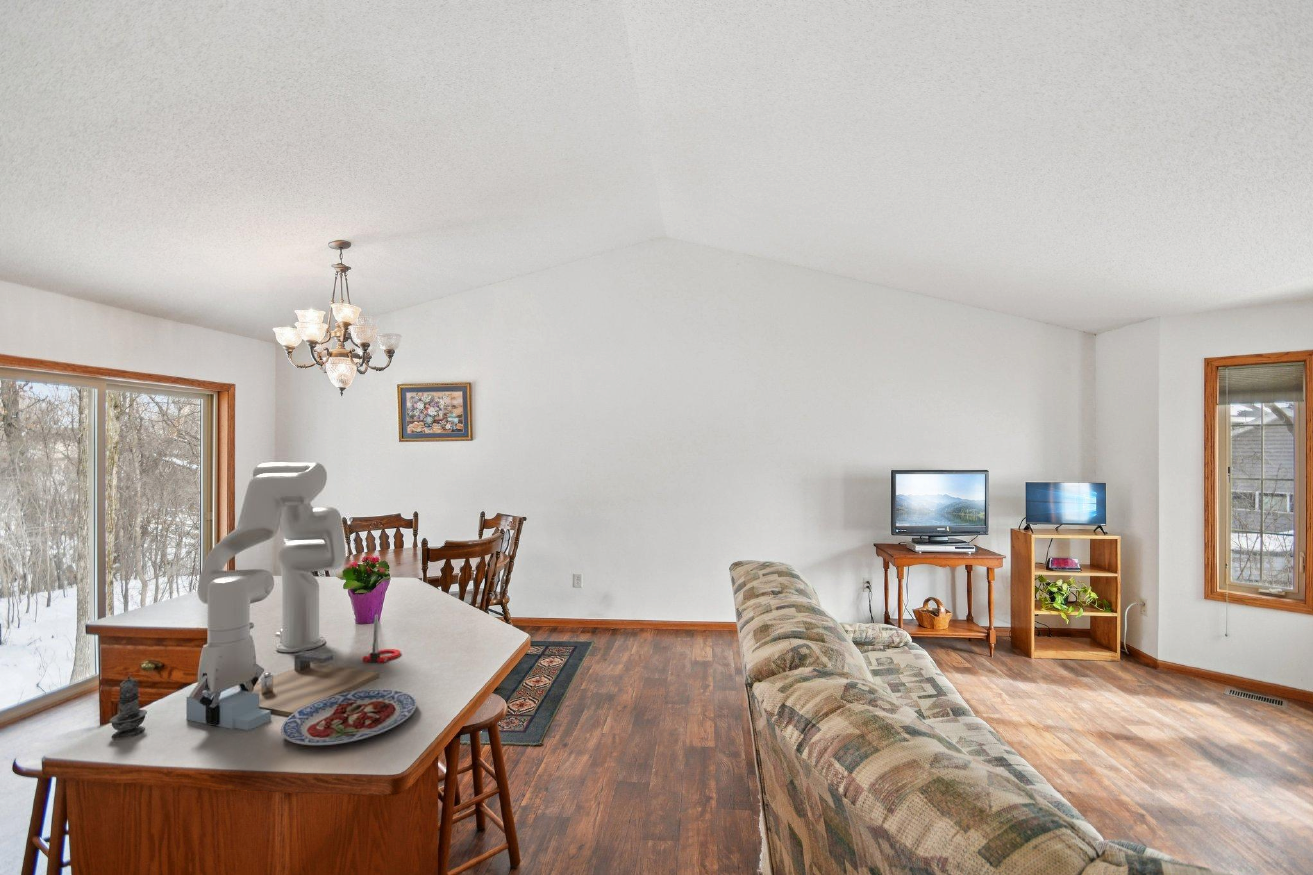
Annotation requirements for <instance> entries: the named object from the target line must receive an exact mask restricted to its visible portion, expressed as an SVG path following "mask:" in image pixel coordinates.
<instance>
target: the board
mask: <svg viewBox="0 0 1313 875" xmlns="http://www.w3.org/2000/svg"><path fill="white" fill-rule="evenodd" d="M379 676H380V674H379V672H375V671H370V670H369V671H367V670H361V669H353V668H348V667H340V666H334V665H327V664H322V663H315V662H310V668H308V669H305V670H303V671H294V668H291V669H288V670H286V671H284V672H282V673H280V674H277V675H273V693H271V694H268V695H261V681H260V682H259V681H258V682H257V683H256V685H255V686H254V690H253V693H259V709H264V710H269V711H271V714H275V715H278V716H285V717H289V716H291V715H292V714H293V713H295V712H296V711H298V710H300V709H301V708H303V707H305V706H307V705H309V704H312V703H314V702H317V701H319V700H322V699H325V698H328V697H332V696H335V695H339V694H344V693H349V692H352V691H353V690H355V689H357V688H359V687H361V686H363V685H365V684H367V683H369V682H371V681H374V680H375V679H377V678H379Z"/></svg>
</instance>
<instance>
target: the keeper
mask: <svg viewBox="0 0 1313 875" xmlns="http://www.w3.org/2000/svg"><path fill="white" fill-rule="evenodd" d="M293 656H294V662H293V663H294V665H293V666H294V667H293V669H294V671H303V670H305V669H308V668H310V663H316V664H326V663H328V662H330V661H333V660H334V654H330V653H324V652H323V653H322V652H316V651H310V650H305V651H299V652H298V653H297V652H296V653H295V654H294V655H293Z"/></svg>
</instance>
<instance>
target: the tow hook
mask: <svg viewBox="0 0 1313 875" xmlns="http://www.w3.org/2000/svg"><path fill="white" fill-rule="evenodd" d="M379 623H380V622H379V614H375V615H374V622H373V636H372V638H373V641H372V650H371V652H369V653H368V655H367V656H366V655H364V656H363V658H362V661H363V662H367V663H369V662H370V663H375V664H376V663H378V664H379V663H387V662H388V660H393V659H396V658H398V657H400V656H401V651H400V650H399V649H394V648H386V649H380V650H379V645H380V644H379V643H380V642H379V626H380V625H379ZM382 654H383V656H381V655H382ZM384 654H390V655H384Z"/></svg>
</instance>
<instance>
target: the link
mask: <svg viewBox="0 0 1313 875" xmlns="http://www.w3.org/2000/svg"><path fill="white" fill-rule="evenodd" d="M206 692H207V690H206V691H203V692H202V695H204V696H205V695H206ZM189 696H190V694H189V695H187V696H186V700H185V702H186V713H185V714H186V719H185V720H187V721H193V722H197V723H201V724H205V725H208V724H207V723H206V706H203V705H202V704H200V703H199V702H197V701H195V700H193V699H192V698H190V697H189ZM212 697H213V695H212ZM211 699H212V698H211ZM217 705H218V706H219V707H220V723H219V724H218V725H216V727H221V728H227V729H232V730H233V729H238V730H239V729H240V730H243V731H250V730H252V729H255V728H257V727H259V726H261V725H263V724H265V723H267V722H270V721H271V720H272V718H271V714H272V713H271V711H269V710H264V709H259V693H253V692H247V691H241V690H240V689H234V688H230V689H227V690H224V691H222V692H221V694H220V697H219V700H218V703H217Z"/></svg>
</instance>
